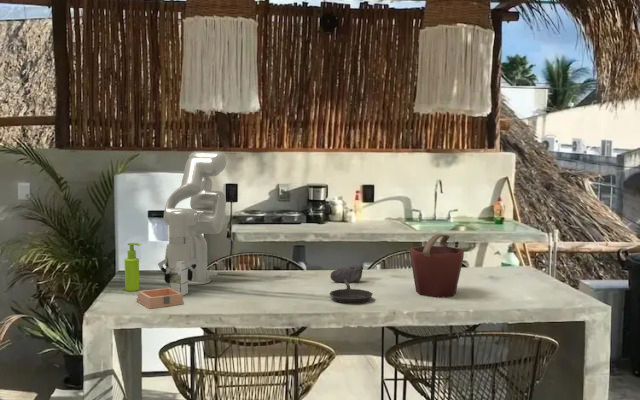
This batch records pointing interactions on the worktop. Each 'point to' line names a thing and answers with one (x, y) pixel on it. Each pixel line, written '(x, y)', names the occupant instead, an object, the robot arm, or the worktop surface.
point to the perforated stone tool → (347, 274)
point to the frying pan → (350, 295)
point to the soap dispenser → (132, 269)
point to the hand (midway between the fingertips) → (178, 281)
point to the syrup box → (179, 278)
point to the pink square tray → (160, 298)
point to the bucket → (436, 268)
